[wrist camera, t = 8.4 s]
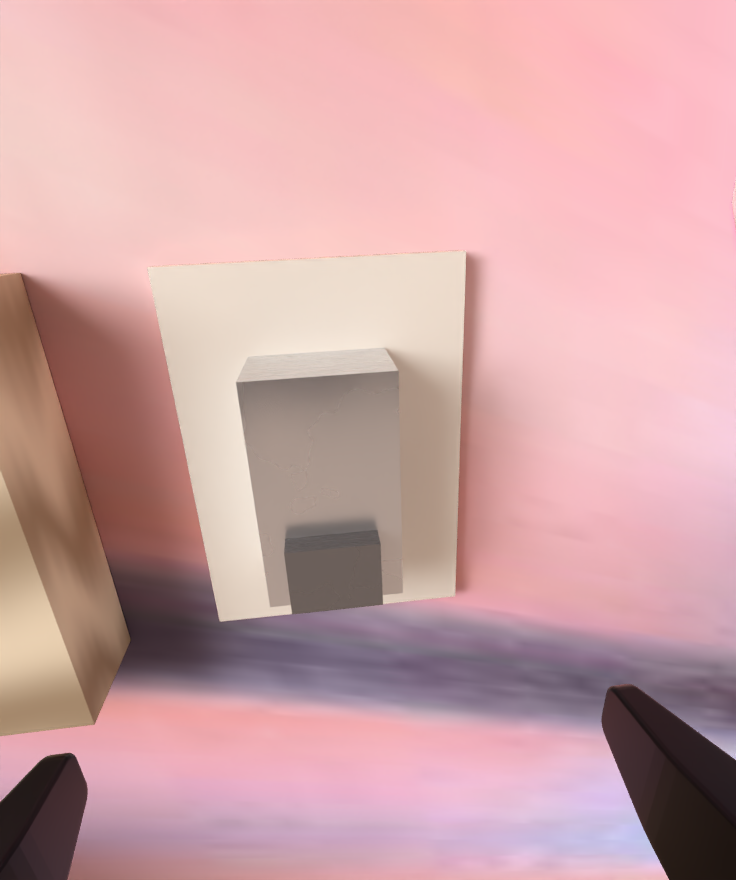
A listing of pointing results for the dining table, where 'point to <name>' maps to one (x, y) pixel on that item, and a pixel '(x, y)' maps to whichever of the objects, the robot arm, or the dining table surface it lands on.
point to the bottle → (734, 202)
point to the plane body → (47, 549)
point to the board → (303, 331)
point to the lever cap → (325, 475)
